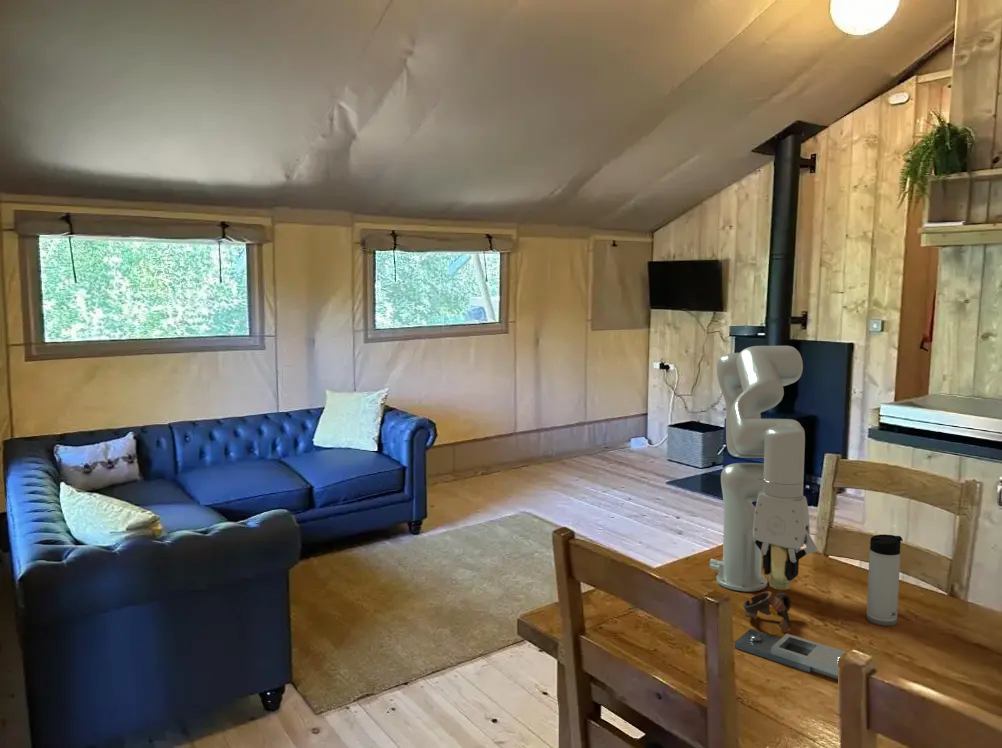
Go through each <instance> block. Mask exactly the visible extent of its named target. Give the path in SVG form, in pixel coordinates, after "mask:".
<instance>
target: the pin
mask: <svg viewBox="0 0 1002 748" xmlns="http://www.w3.org/2000/svg"><path fill="white" fill-rule="evenodd" d="M789 560H790V556H789V550H788V548H785V547H780V546H776V545H772V544H770V574H769V577H768V578H769V582H768V583H769V587H771V588H772V589H775V590H781V591H784V590H785V591H786V590H788V589H789V590H790V589H791V581H788V580H787V562H788V561H789Z"/></svg>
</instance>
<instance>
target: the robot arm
mask: <svg viewBox="0 0 1002 748" xmlns="http://www.w3.org/2000/svg"><path fill="white" fill-rule="evenodd" d="M803 363H804V362H803V358H802V356H801V353H800V352H799V350H797V348H795V347H794V346H792V345H791V346H790V345H754V346H753V345H752V346H749V347H746V348H744V349H742V350H741V351H740V352H731V353H728V354H727V353H726V354H724V355H721V356H720V357H719V358H718V359H717V363H716V364H717V365H716V376H717V381H718V386H719V387H720V388H719V389H720V391H721V393H722V395H723V398H724V402H725V433H726V434H725V440H726V449H727V451H728V453H729V454H730V455H731V456H732V457H736V458H743V459H744V458H745V459H746V458H747V459H750V458H751V459H760V458H761V459H763V463H762V462H761V463H759V462H736V463H731V464H727V465H726V466H724V467H723V468H722V471H721V473H720V485H721V493H722V500H723V534H722V535H723V537H722V538H723V544H722V545H723V548H722V560H718V559H715V558H710V560H709V568H710V569H712V570H716V571H717V572H718V573H717V574H716V582H717V583H718V584H719V585H720V586H721V587H723V588H726V589H728V590H733V591H738V592H748V593H749V592H757V591H758V592H759V591H762V590H764V589H765V588H766V587H768V579H767V578H766V577H765V575H766V576H768V575H770V544H772V545H776V546H780V547H785V548H788V550H789V556H790V560H789V561H788V562H787V580H788V581H790V582H791V581H792V580H794V579H796V577H798V576H799V569H800V568H799V561H800V560H801V559H802V558H804V557H805V556H808V555H810V554H812V553H815V552H816V551H818V548H817V546H816V543H815V542H814V540H813V538H812V536H811V534H810V531H811V530H810V527H811V526H810V515H809V514H810V513H809V505H808V499H807V497H806V496H805V495H804V477H805V476H804V475H805V448H806V446H805V445H806V436H805V435H806V433H805V432H806V431H805V429H804V427H803V426H802V425H801V423H800V422H799V421H797V420H796V419H792V418H791V419H790V418H762V415H761V413H764V412H767V411H768V410H769V411H770V410H771V409H773V408H775V407H776V406H777V405H779V403H781V402H782V400H783V397H784V396H785V395H784V394H785V391H784V387H785V386H789V385H791V384H794V383H796V382H797V381H798V380H800V378H801V377H802V373H803V369H804V364H803ZM753 502H756V503H755V505H754V504H753ZM804 545H805V547H804ZM802 547H804V548H802ZM801 548H802V549H801ZM762 556H763V557H762ZM762 559H763V560H762ZM762 568H763V571H764V575H763V574H762Z"/></svg>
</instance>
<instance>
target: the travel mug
mask: <svg viewBox="0 0 1002 748" xmlns="http://www.w3.org/2000/svg"><path fill="white" fill-rule="evenodd" d="M902 542H903V538H902V536H900V535H893V534H876V535H873V536H871V537H870V540H869V545H870V546H869V554H868V555H869V556H868V579H867V600H866V602H867V604H866V619H867V620H868V621H869V622H871V623H872V624H875V625H878V626H883V627H891V626H895V625H896V624H898V608H899V592H900V591H899V589H900V588H899V585H900V570H901V569H900V567H901V566H900V565H901V546H902V545H901V543H902Z"/></svg>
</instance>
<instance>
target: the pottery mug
mask: <svg viewBox="0 0 1002 748" xmlns="http://www.w3.org/2000/svg"><path fill="white" fill-rule="evenodd" d="M750 600H751V602H750ZM750 600H746V601H745V602H744V603H743V604H742V607H743V608H744V616H745V617H746V618H747V617H748V618H753V619H754V620H757V619H758V618H757V615H758V612H759V613H761V614H764V615H766V616H769V615H771V614H772V613H771V611H770V607H772V608H773V609H774V610H775V611H776V614H777V616H779V617H781V618H783V620H782V621H780V623H778V626H779V628H780V631H781V633H782V634H783V633H784V634H785V632H787V631H788V630H789V629H790V628H791V627H792V625H791V622H790V618H789V617H790V616H789V614H788V612H789V611H790V608H791V605H792V600H791V597H790V596H789V595H788V594H787V593H785V592H779V593H777V594H775V595H773V592H772V591H770V590H769V591H763V592H760V593H758V594H756V595H753V596H751V597H750Z"/></svg>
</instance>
